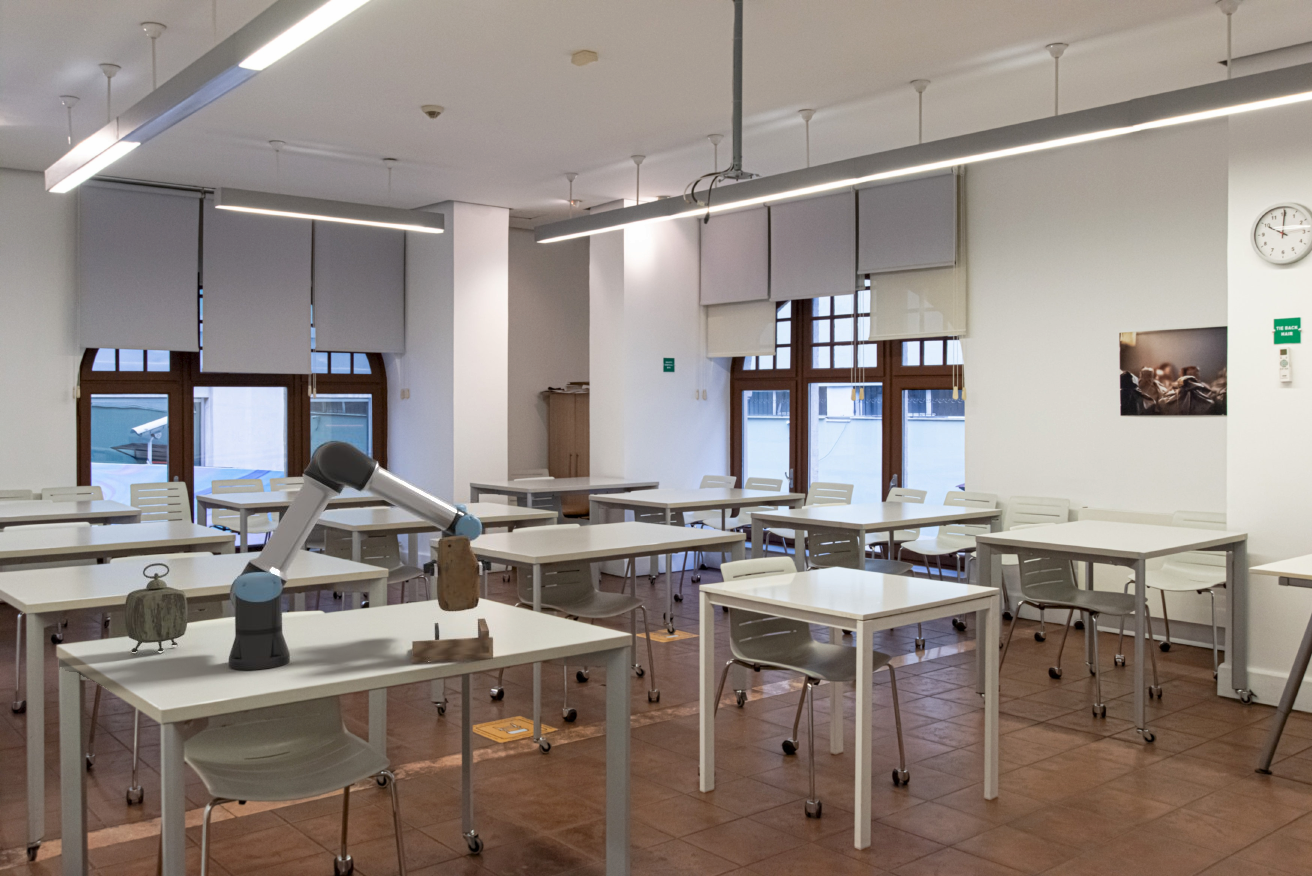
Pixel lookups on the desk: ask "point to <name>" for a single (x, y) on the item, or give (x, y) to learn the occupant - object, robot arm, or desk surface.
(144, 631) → the tabletop clock
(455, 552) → the block
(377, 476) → the robot arm
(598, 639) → the desk surface
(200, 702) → the desk surface
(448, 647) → the wooden holder
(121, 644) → the desk surface
